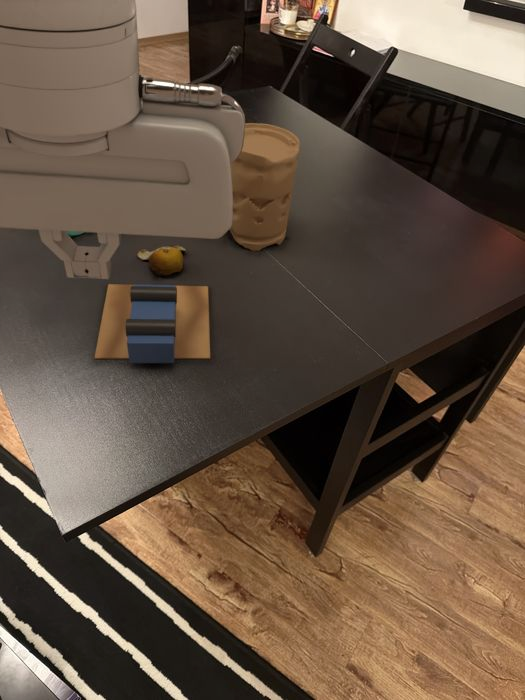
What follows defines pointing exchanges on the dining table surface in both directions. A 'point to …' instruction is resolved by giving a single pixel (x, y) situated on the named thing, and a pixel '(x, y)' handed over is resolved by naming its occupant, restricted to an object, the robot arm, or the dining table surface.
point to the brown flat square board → (189, 323)
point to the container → (263, 185)
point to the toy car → (152, 324)
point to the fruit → (164, 259)
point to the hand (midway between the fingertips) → (90, 273)
